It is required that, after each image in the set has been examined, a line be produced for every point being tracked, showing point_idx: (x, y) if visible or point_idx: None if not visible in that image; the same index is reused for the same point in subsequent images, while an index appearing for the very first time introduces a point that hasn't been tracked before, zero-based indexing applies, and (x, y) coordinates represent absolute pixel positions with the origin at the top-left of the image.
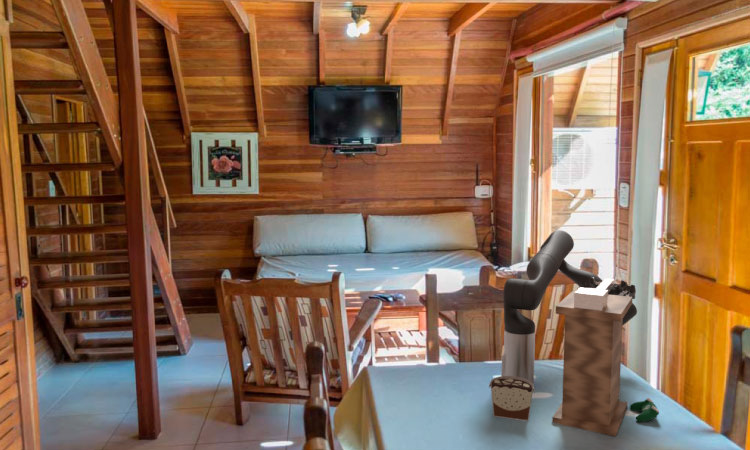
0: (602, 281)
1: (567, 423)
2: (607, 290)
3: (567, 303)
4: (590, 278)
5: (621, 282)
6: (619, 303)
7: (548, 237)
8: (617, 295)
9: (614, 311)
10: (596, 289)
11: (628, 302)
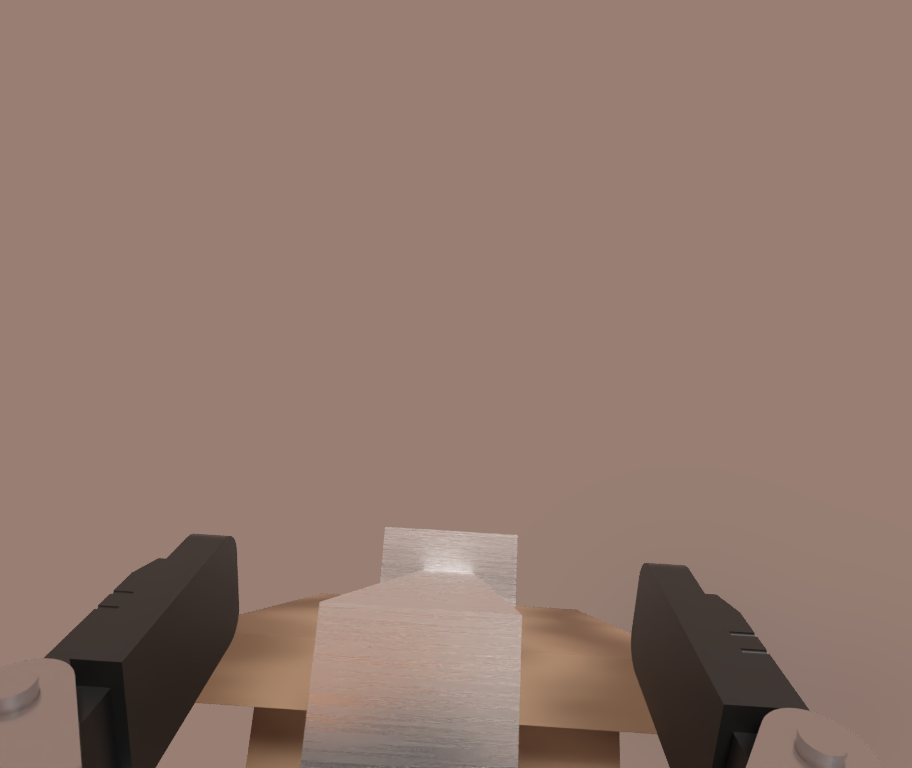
0: (497, 594)
1: None
2: (386, 527)
3: (554, 613)
4: (709, 594)
5: (229, 570)
6: (313, 609)
7: None
8: (306, 636)
9: None
10: (437, 530)
11: (256, 610)
